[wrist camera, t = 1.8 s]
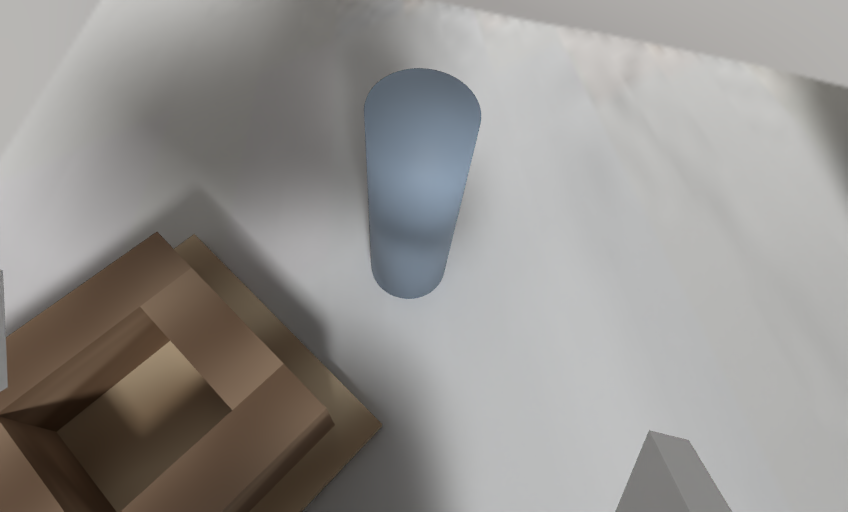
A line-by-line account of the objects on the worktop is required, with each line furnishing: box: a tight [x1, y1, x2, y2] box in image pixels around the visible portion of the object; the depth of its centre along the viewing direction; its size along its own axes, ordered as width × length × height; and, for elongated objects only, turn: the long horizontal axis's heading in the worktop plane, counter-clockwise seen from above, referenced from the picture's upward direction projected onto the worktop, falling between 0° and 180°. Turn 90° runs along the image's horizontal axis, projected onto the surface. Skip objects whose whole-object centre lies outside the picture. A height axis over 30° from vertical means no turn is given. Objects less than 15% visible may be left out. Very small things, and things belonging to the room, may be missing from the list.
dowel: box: [364, 68, 481, 299], centre depth 23 cm, size 4×4×12 cm
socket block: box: [0, 232, 382, 512], centre depth 22 cm, size 14×14×5 cm
